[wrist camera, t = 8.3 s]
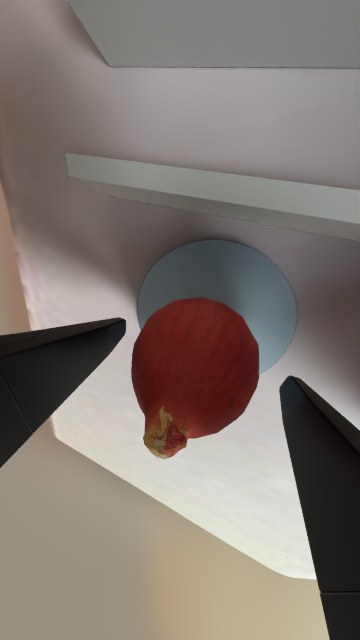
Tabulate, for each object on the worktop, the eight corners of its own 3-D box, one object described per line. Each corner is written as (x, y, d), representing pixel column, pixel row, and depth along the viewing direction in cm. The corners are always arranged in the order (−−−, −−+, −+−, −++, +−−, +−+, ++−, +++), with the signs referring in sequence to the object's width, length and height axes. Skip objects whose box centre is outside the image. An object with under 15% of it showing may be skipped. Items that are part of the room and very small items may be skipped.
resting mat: (338, 264, 8) (344, 264, 7) (250, 396, 13) (251, 401, 12) (146, 224, 10) (142, 222, 9) (137, 353, 15) (134, 357, 14)
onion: (233, 369, 11) (232, 550, 4) (164, 345, 13) (79, 457, 6) (265, 297, 9) (388, 466, 2) (174, 275, 10) (38, 326, 3)
